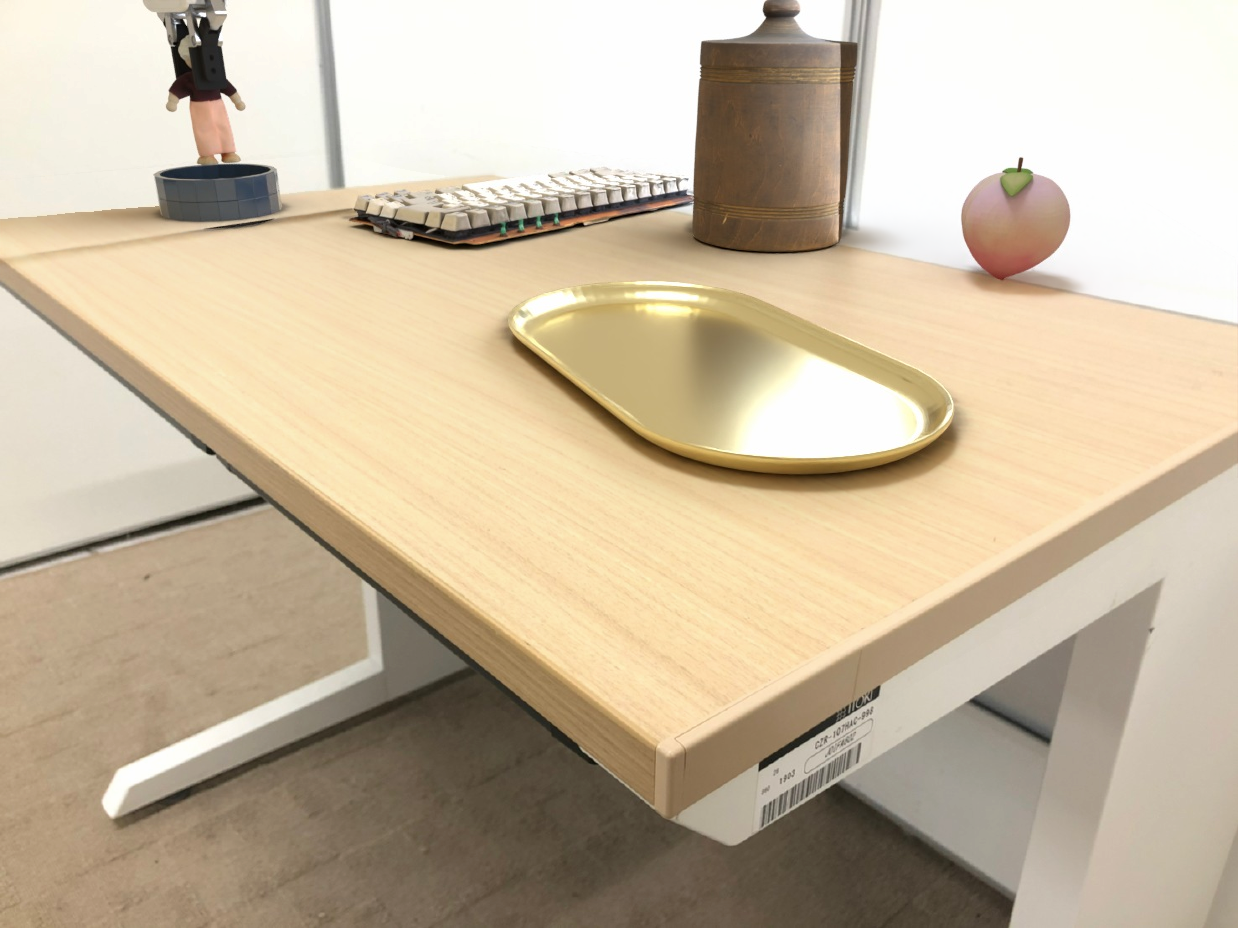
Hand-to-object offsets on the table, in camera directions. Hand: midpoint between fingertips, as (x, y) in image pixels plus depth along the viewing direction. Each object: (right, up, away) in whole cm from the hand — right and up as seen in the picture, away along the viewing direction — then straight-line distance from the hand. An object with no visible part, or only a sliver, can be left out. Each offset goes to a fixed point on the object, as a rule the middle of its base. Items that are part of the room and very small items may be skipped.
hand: (202, 86), depth 102 cm
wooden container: (+58, -16, -2) cm, 60 cm away
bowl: (0, -12, +6) cm, 13 cm away
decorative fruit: (+76, -24, -18) cm, 81 cm away
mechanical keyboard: (+34, -11, +9) cm, 36 cm away
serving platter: (+48, -33, -40) cm, 71 cm away
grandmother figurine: (0, -7, +3) cm, 8 cm away
